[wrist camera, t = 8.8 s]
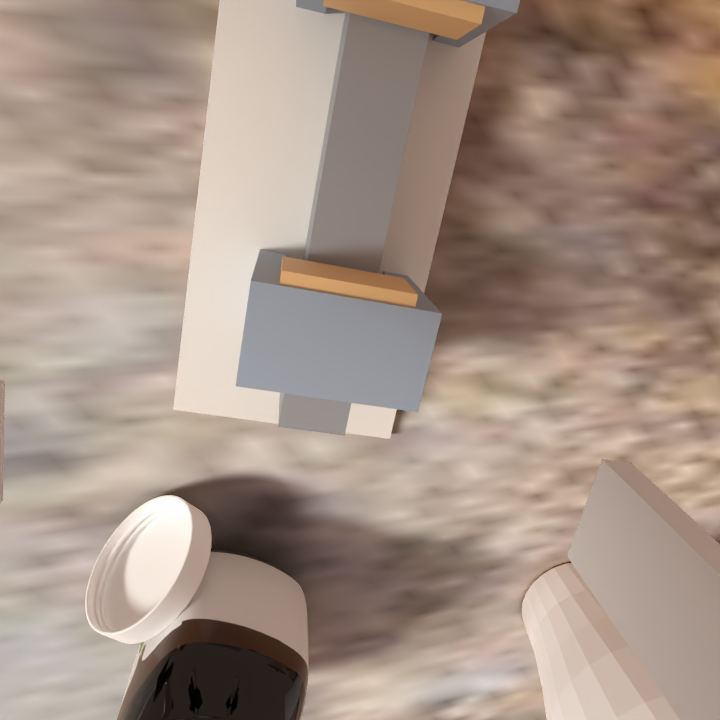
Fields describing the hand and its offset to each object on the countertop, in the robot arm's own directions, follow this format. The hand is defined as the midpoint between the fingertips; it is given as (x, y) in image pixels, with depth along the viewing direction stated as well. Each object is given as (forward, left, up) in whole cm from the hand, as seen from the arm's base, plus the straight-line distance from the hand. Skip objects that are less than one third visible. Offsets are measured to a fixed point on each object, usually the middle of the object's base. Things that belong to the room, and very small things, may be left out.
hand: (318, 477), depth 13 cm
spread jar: (-3, -17, -17) cm, 24 cm away
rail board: (0, +7, -17) cm, 18 cm away
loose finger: (+1, 0, -16) cm, 16 cm away
